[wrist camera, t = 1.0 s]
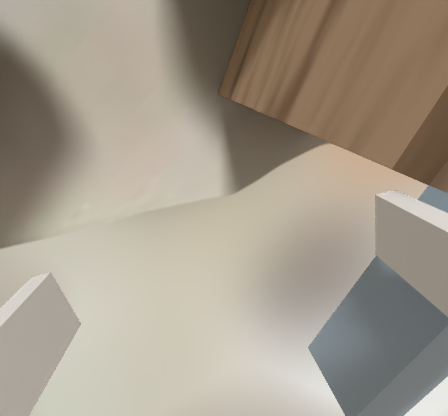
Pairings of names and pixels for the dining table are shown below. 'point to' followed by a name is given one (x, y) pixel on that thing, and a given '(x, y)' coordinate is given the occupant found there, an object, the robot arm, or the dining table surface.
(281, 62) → the walnut stand
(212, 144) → the dining table surface
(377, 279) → the slate rail
